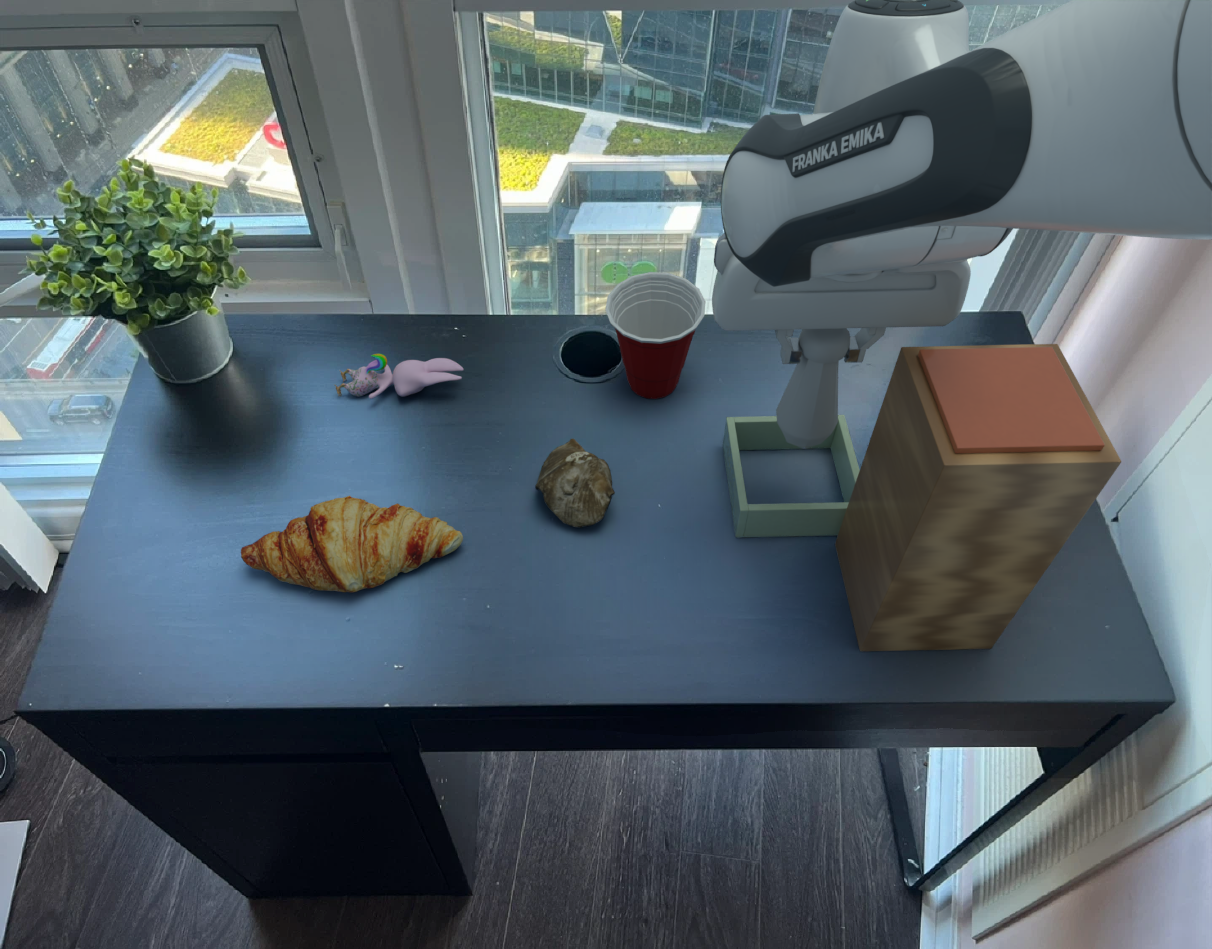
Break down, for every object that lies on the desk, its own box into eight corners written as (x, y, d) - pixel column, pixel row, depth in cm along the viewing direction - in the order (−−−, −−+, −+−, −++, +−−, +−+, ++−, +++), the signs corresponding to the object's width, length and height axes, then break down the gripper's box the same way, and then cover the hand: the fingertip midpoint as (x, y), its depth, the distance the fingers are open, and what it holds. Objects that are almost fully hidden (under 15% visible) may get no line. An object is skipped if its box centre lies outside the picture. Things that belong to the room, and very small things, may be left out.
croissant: (468, 543, 89) (459, 473, 86) (466, 590, 80) (455, 513, 77) (262, 566, 87) (245, 495, 84) (234, 616, 77) (214, 539, 74)
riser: (954, 541, 84) (1057, 343, 64) (991, 649, 76) (1122, 461, 57) (834, 543, 84) (901, 346, 64) (859, 651, 76) (944, 465, 57)
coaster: (1049, 352, 64) (1052, 346, 63) (1101, 450, 57) (1105, 445, 57) (917, 354, 64) (919, 349, 63) (954, 453, 57) (957, 447, 57)
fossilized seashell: (632, 510, 84) (608, 450, 92) (595, 474, 80) (573, 414, 87) (572, 550, 86) (554, 488, 93) (533, 517, 81) (517, 454, 89)
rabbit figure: (340, 415, 98) (463, 403, 96) (318, 378, 94) (446, 364, 92) (353, 378, 102) (470, 365, 100) (332, 341, 98) (455, 327, 96)
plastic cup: (594, 404, 97) (591, 323, 88) (622, 345, 104) (622, 264, 95) (684, 425, 95) (691, 344, 86) (708, 363, 101) (716, 282, 92)
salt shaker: (819, 463, 79) (847, 359, 70) (763, 441, 81) (782, 337, 71) (841, 424, 83) (870, 320, 73) (786, 404, 85) (808, 300, 75)
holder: (836, 442, 93) (844, 414, 89) (860, 535, 85) (870, 507, 81) (722, 445, 93) (726, 416, 89) (735, 537, 85) (740, 510, 81)
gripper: (721, 249, 62) (707, 385, 73) (998, 242, 62) (944, 380, 73) (713, 202, 66) (700, 338, 77) (972, 196, 66) (924, 333, 77)
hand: (821, 358), depth 75 cm, fingers closed on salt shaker, 4 cm apart
